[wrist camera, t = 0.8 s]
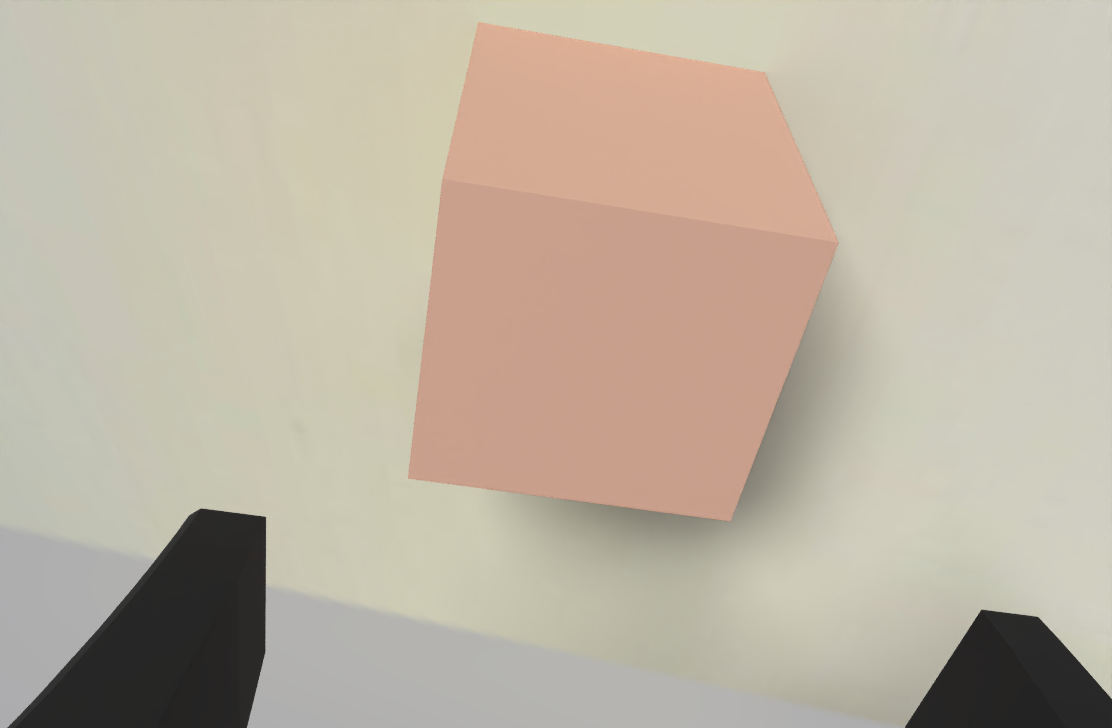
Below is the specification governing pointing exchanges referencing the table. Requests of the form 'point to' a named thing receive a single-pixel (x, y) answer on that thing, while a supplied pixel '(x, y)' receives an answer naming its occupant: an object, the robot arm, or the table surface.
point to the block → (613, 277)
